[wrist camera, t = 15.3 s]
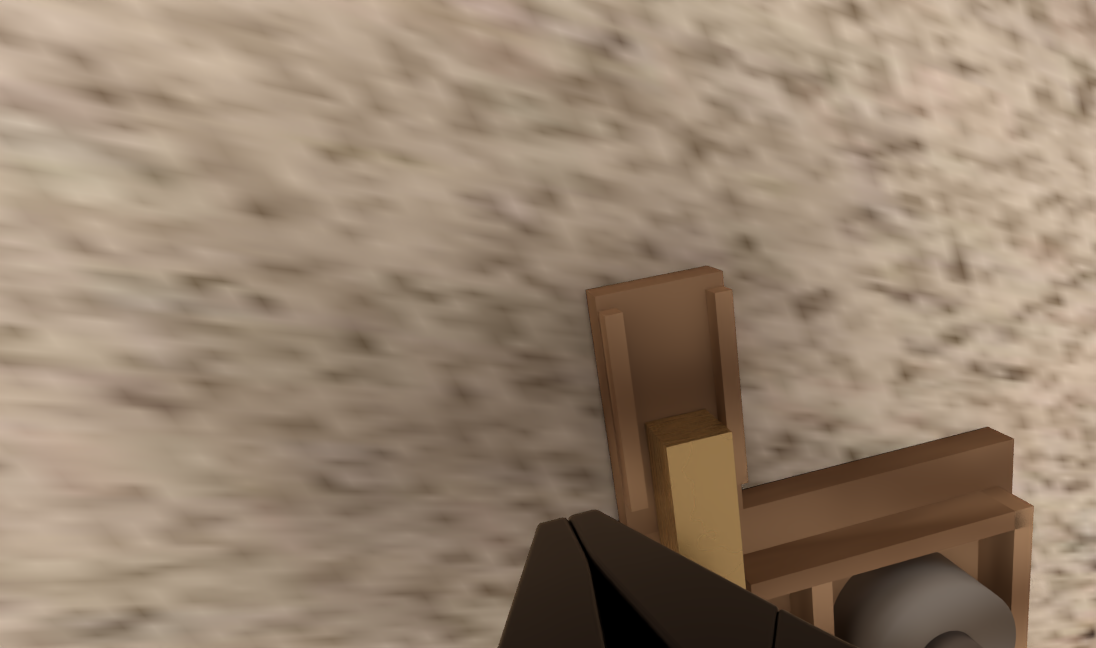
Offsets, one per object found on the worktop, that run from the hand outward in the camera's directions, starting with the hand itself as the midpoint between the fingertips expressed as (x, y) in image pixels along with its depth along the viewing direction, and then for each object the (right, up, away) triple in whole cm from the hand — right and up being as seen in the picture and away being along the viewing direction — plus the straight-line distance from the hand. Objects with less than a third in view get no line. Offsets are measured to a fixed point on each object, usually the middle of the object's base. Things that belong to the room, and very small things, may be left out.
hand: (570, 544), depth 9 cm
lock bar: (+5, -3, +14) cm, 15 cm away
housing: (+9, -5, +17) cm, 19 cm away
